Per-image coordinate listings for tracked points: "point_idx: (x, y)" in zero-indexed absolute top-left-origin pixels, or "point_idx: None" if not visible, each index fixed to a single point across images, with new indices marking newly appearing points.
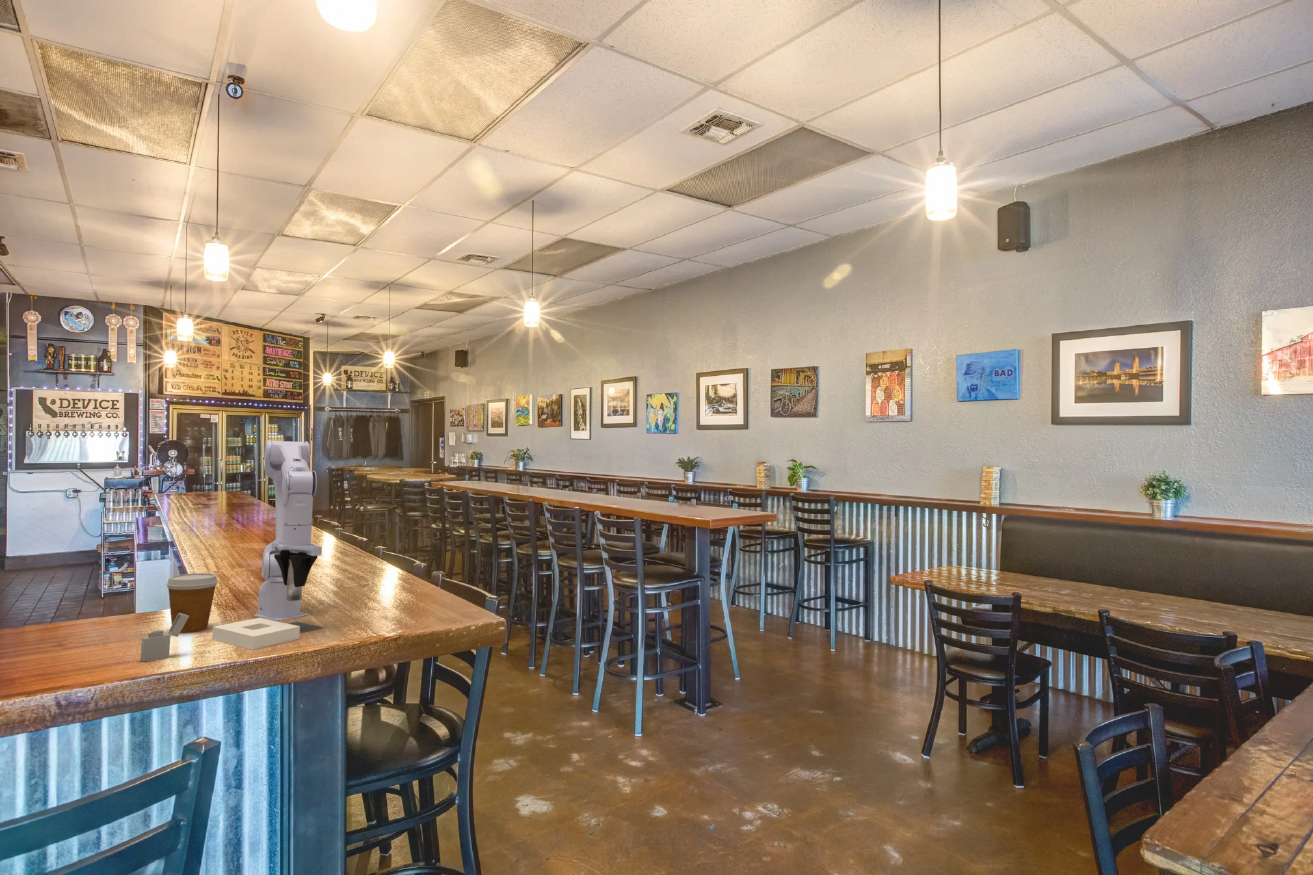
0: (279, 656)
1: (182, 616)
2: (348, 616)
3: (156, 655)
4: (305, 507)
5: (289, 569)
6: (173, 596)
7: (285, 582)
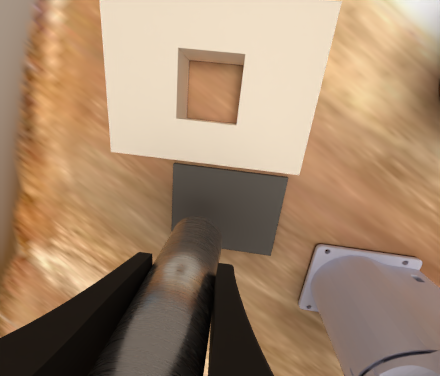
0: (35, 15)
1: None
2: None
3: None
4: None
5: (148, 338)
6: None
7: (217, 271)
